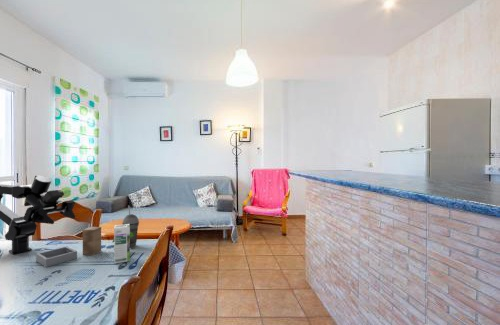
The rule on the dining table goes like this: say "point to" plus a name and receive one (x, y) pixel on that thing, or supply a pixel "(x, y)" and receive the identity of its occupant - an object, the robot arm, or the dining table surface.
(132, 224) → the beverage cup
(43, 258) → the bin
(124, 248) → the syrup box
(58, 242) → the dining table surface
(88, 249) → the handle block
